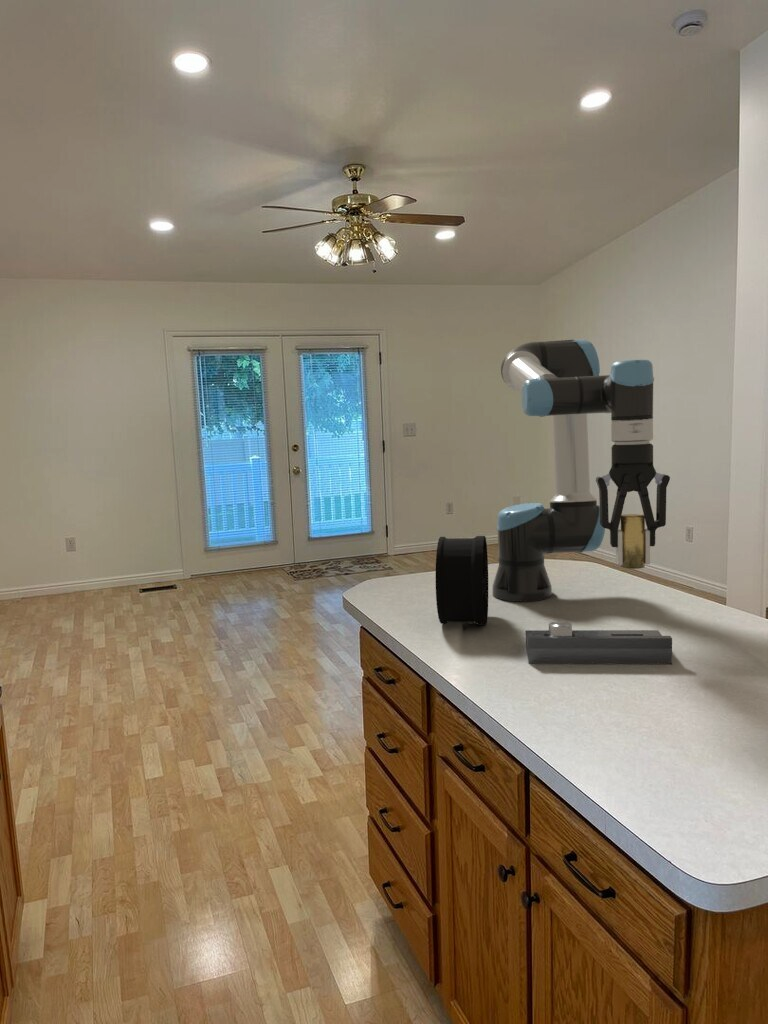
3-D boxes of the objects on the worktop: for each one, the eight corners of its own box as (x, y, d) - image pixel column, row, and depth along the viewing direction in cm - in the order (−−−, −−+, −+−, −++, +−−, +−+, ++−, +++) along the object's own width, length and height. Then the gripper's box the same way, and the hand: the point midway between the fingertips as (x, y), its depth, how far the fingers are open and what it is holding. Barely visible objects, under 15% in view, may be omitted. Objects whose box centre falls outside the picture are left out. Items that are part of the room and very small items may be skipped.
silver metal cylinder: (548, 650, 141) (547, 621, 140) (570, 650, 140) (570, 621, 139) (550, 657, 136) (549, 628, 135) (573, 657, 136) (573, 627, 135)
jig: (525, 644, 144) (525, 621, 144) (658, 644, 140) (658, 620, 140) (528, 663, 134) (528, 638, 133) (671, 664, 130) (672, 638, 129)
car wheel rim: (484, 636, 151) (481, 545, 148) (437, 635, 153) (433, 545, 150) (489, 610, 170) (486, 528, 167) (447, 609, 172) (444, 529, 170)
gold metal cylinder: (618, 564, 139) (618, 514, 138) (641, 563, 139) (641, 513, 137) (623, 569, 135) (623, 517, 134) (647, 568, 134) (647, 516, 133)
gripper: (587, 445, 131) (589, 568, 134) (685, 441, 129) (685, 566, 132) (582, 444, 139) (583, 560, 142) (674, 440, 136) (674, 558, 139)
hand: (632, 562), depth 137 cm, fingers closed on gold metal cylinder, 4 cm apart
